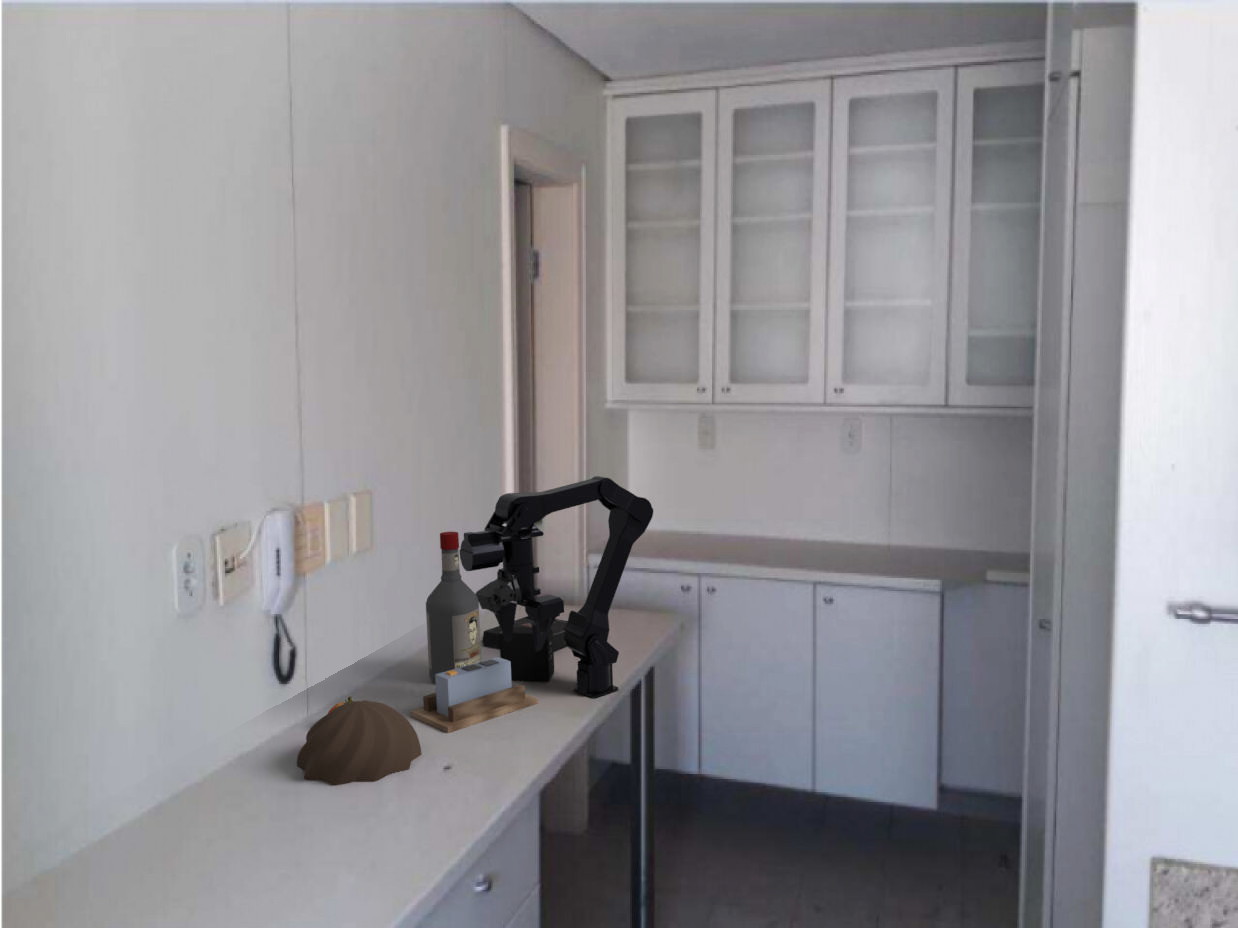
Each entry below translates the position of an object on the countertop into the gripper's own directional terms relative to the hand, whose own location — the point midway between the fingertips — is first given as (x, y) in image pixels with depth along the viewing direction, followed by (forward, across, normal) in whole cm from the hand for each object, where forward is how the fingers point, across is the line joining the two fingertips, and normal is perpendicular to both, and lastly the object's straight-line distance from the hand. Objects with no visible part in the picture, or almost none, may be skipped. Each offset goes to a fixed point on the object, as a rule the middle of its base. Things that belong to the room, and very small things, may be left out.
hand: (523, 645), depth 184 cm
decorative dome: (+12, 0, -34) cm, 36 cm away
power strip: (+11, -6, -7) cm, 14 cm away
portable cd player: (+13, -32, +27) cm, 44 cm away
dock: (+12, -6, -7) cm, 15 cm away
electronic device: (+12, -13, +10) cm, 21 cm away
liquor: (+12, -24, 0) cm, 27 cm away
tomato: (+12, -16, -28) cm, 34 cm away
